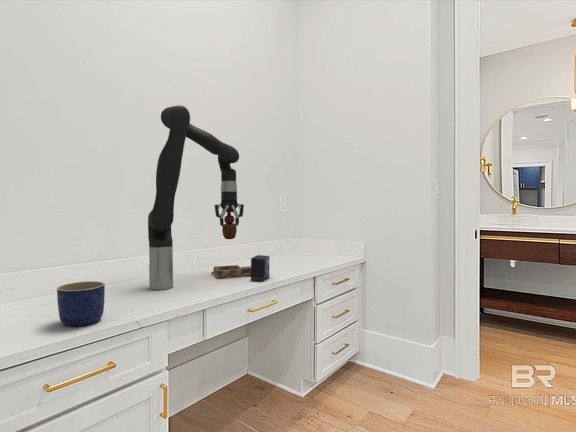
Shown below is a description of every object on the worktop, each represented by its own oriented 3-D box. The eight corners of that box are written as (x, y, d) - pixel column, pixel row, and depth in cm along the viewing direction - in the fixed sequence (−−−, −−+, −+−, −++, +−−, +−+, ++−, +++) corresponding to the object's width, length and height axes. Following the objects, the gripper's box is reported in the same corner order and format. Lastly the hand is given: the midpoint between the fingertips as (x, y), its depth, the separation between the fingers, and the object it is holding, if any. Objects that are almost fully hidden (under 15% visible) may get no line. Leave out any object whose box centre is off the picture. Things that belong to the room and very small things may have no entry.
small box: (264, 282, 166) (264, 258, 166) (250, 281, 167) (250, 258, 167) (270, 277, 176) (270, 255, 176) (256, 276, 178) (256, 254, 177)
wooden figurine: (229, 239, 174) (228, 207, 174) (220, 239, 178) (219, 207, 177) (238, 238, 180) (238, 207, 179) (230, 237, 183) (229, 207, 183)
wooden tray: (217, 279, 172) (217, 271, 172) (211, 273, 185) (211, 266, 185) (258, 275, 180) (258, 268, 180) (250, 270, 193) (250, 263, 192)
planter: (47, 326, 108) (46, 288, 107) (84, 313, 119) (84, 279, 119) (79, 331, 103) (78, 292, 103) (114, 318, 115) (114, 283, 114)
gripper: (215, 190, 172) (215, 227, 173) (245, 190, 177) (246, 226, 178) (212, 191, 179) (213, 226, 179) (241, 191, 184) (242, 225, 185)
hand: (229, 225), depth 179 cm, fingers closed on wooden figurine, 6 cm apart
